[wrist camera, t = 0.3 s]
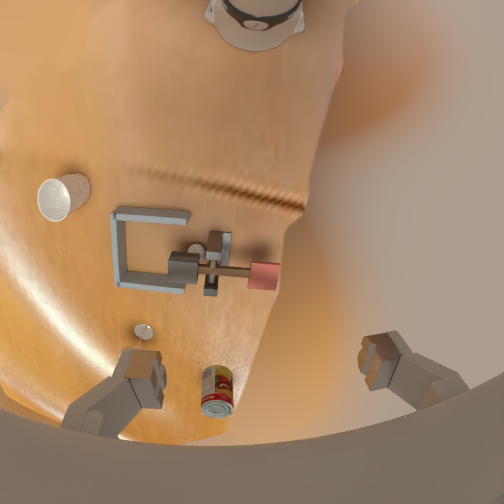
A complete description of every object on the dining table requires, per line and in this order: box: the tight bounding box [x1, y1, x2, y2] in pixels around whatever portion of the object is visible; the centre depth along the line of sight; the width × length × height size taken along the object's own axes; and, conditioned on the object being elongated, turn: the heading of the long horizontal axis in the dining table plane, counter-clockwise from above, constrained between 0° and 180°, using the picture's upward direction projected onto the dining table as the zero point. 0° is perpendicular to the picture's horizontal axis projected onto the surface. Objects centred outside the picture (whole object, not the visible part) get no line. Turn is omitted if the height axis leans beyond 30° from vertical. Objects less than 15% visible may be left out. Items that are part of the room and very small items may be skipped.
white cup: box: [37, 173, 91, 222], centre depth 46 cm, size 8×8×10 cm
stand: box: [204, 231, 231, 297], centre depth 54 cm, size 8×4×10 cm, turn 173°
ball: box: [188, 244, 205, 261], centre depth 56 cm, size 4×4×4 cm
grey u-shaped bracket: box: [110, 206, 190, 294], centre depth 54 cm, size 15×15×5 cm
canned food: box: [201, 366, 234, 418], centre depth 67 cm, size 8×8×12 cm
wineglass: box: [118, 324, 153, 360], centre depth 60 cm, size 7×7×12 cm
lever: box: [168, 251, 280, 290], centre depth 53 cm, size 5×19×10 cm, turn 83°
